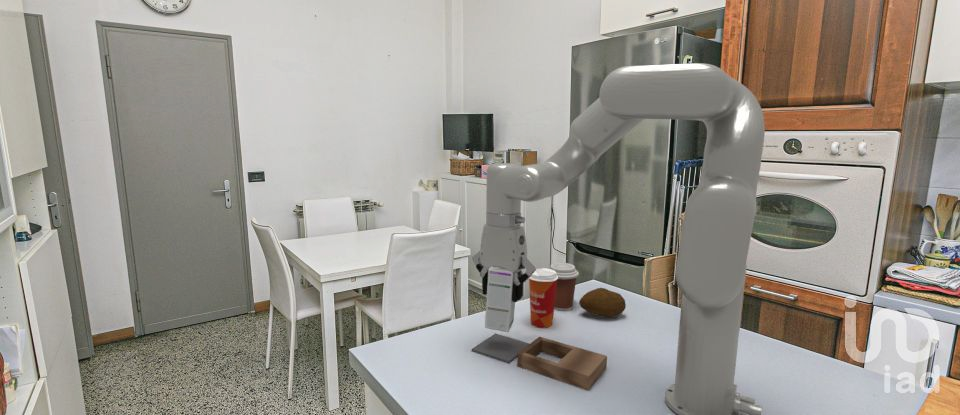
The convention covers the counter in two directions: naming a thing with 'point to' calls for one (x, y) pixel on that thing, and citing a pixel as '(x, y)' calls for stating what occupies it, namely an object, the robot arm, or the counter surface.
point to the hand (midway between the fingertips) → (502, 296)
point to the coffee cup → (564, 285)
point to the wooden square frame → (563, 362)
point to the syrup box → (499, 300)
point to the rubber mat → (500, 348)
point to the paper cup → (542, 297)
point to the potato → (603, 303)
